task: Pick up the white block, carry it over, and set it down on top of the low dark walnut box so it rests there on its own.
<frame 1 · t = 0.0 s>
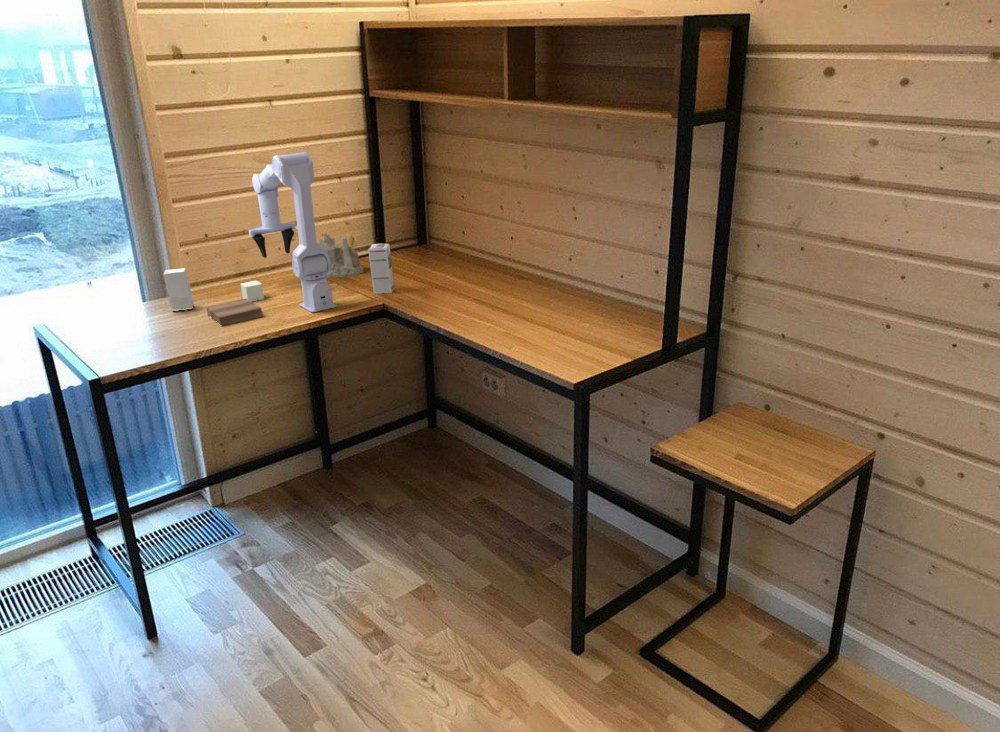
hand: (276, 254, 254), 10 cm above the table, fingers open, 7 cm apart
rocky castle sculpture: (340, 271, 271), on the table
white block: (253, 299, 246), on the table
walnut box: (235, 317, 231), on the table
syrup box: (383, 291, 248), on the table
skincare box: (183, 310, 239), on the table
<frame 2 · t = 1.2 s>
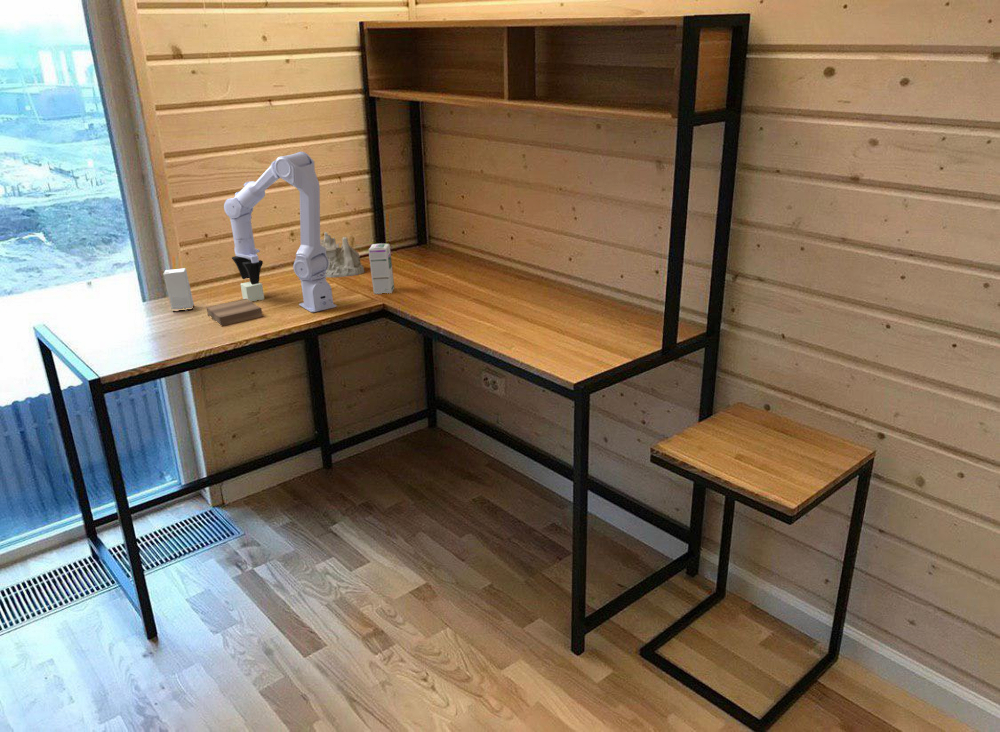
hand: (250, 281, 243), 6 cm above the table, fingers open, 7 cm apart
nothing on the table moved.
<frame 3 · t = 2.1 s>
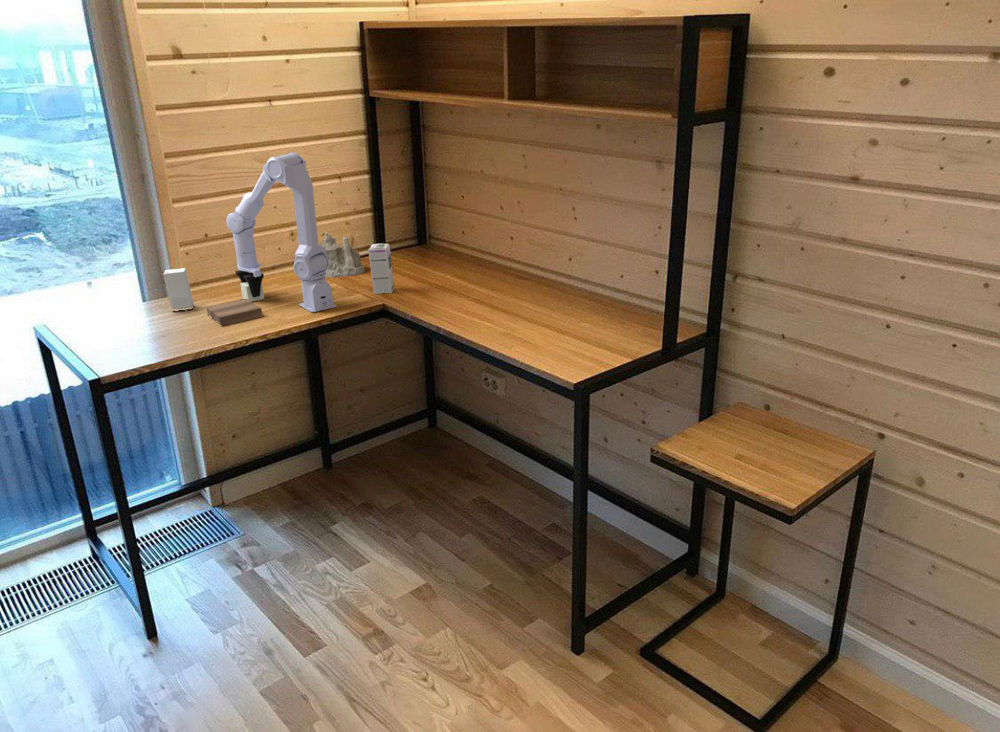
hand: (252, 294, 245), 1 cm above the table, fingers closed on white block, 5 cm apart
white block: (253, 298, 246), on the table, touching gripper
everything else where it was.
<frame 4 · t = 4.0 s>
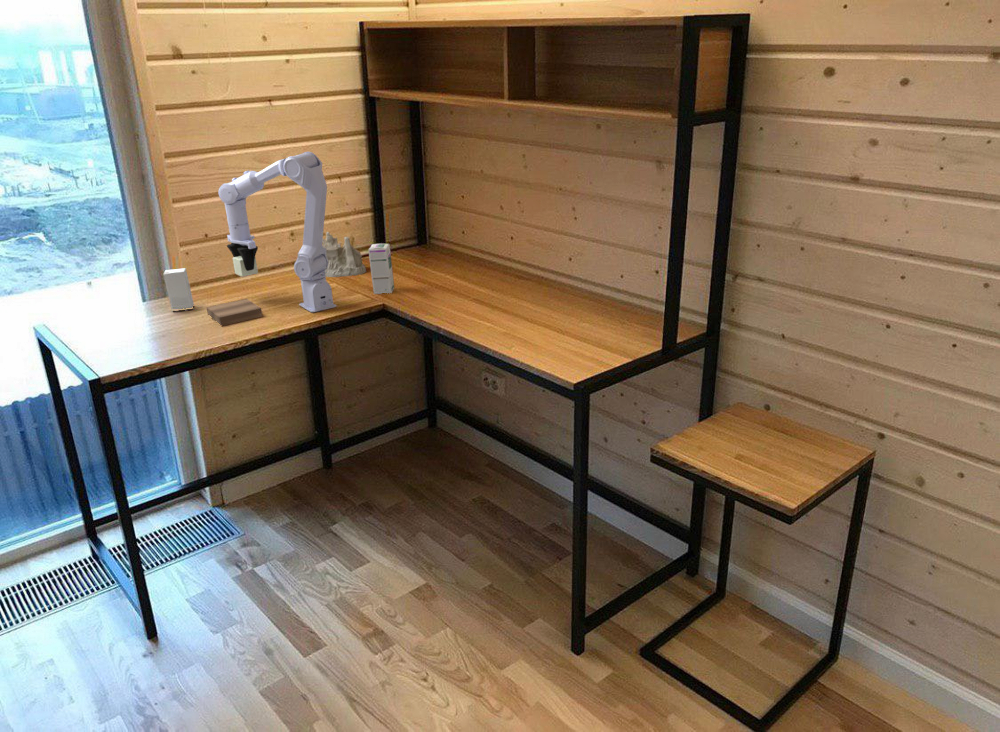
hand: (245, 268, 239), 10 cm above the table, fingers closed on white block, 5 cm apart
white block: (246, 273, 240), point 9 cm above the table, touching gripper
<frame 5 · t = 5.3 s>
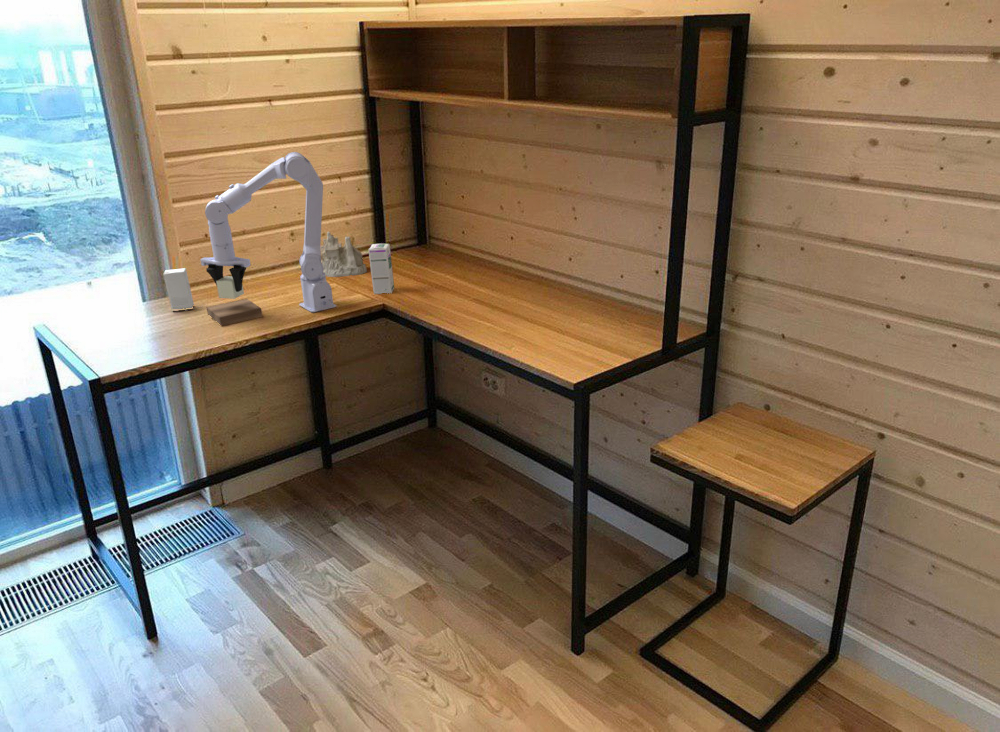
hand: (230, 290, 228), 8 cm above the table, fingers closed on white block, 5 cm apart
white block: (231, 295, 229), point 6 cm above the table, touching gripper
when the fingers open (6 cm above the table, at t = 6.1 s): white block drops 2 cm, resting on walnut box.
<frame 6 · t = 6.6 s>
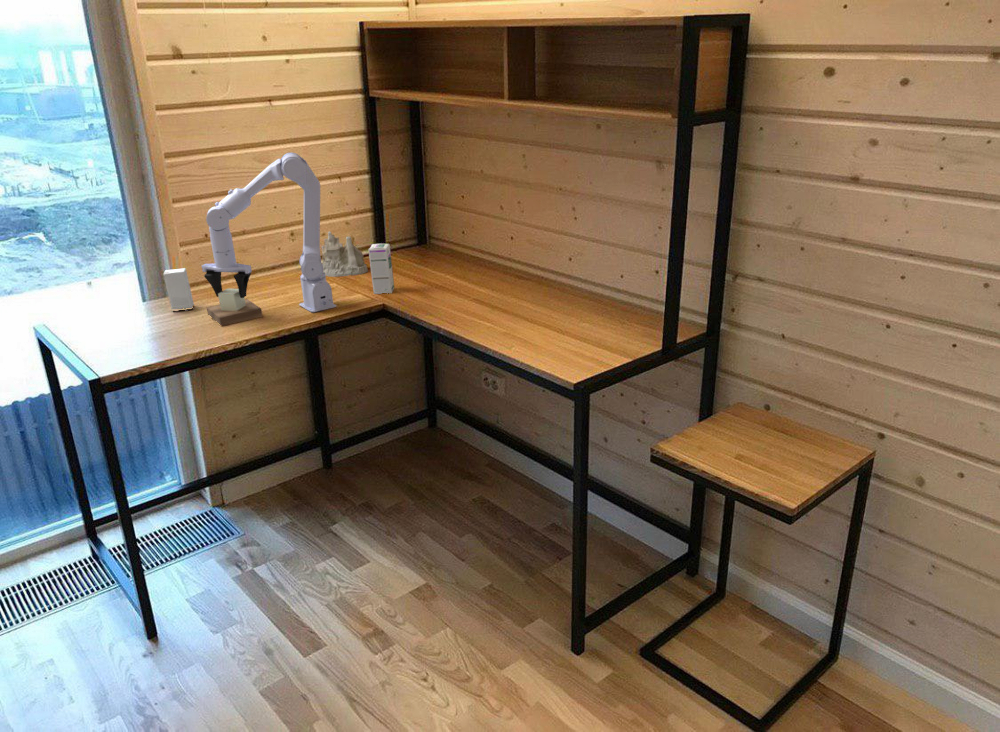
hand: (231, 296, 229), 6 cm above the table, fingers open, 7 cm apart
white block: (233, 307, 230), point 2 cm above the table, touching walnut box
walnut box: (235, 317, 231), on the table, touching white block
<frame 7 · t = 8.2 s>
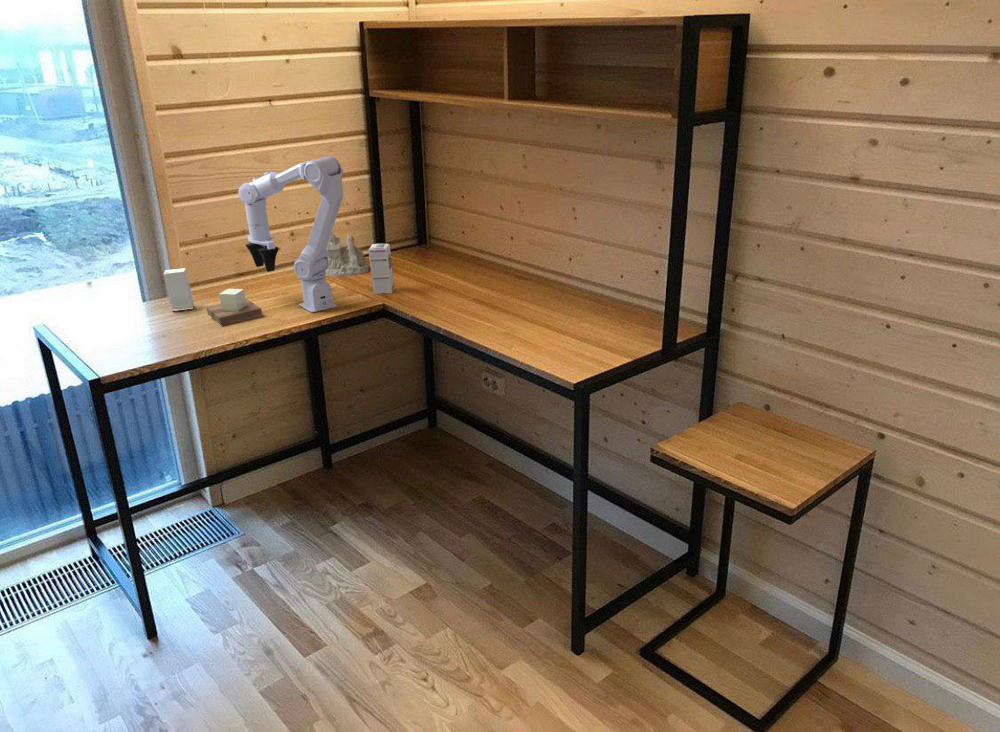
hand: (265, 268, 238), 10 cm above the table, fingers open, 7 cm apart
white block: (234, 308, 230), point 2 cm above the table
walnut box: (235, 317, 231), on the table
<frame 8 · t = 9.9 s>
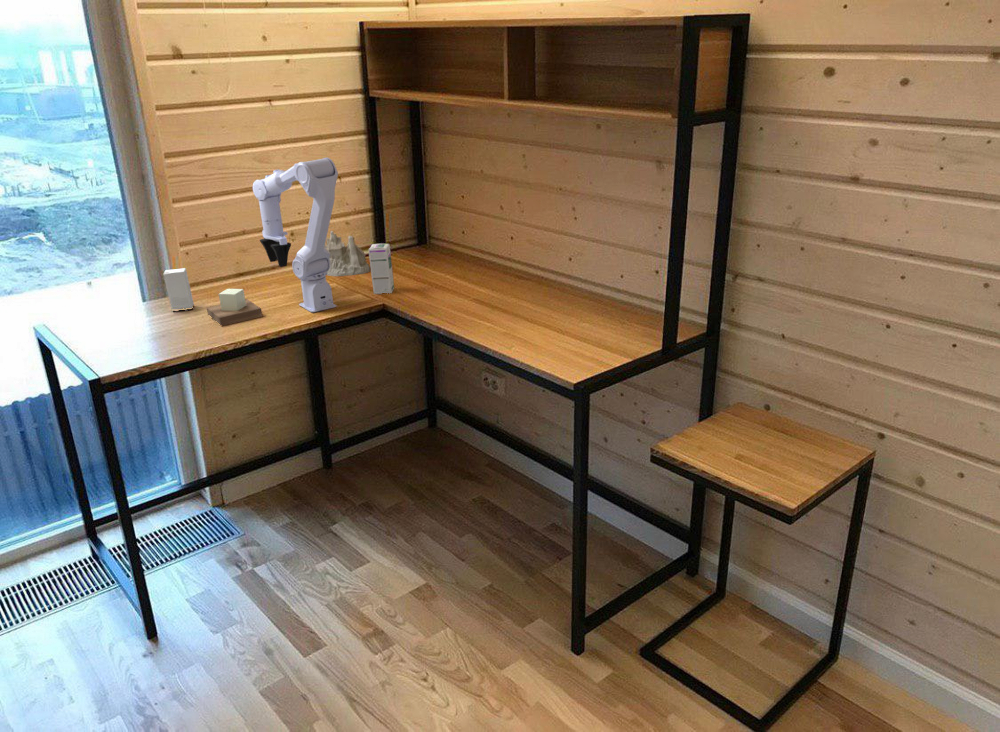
hand: (278, 263, 243), 10 cm above the table, fingers open, 7 cm apart
at the end: white block inside the target area on the walnut box (0.4 cm from its centre), point 3.1 cm above the walnut box's base; white block tilted 1°; white block touching nothing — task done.
